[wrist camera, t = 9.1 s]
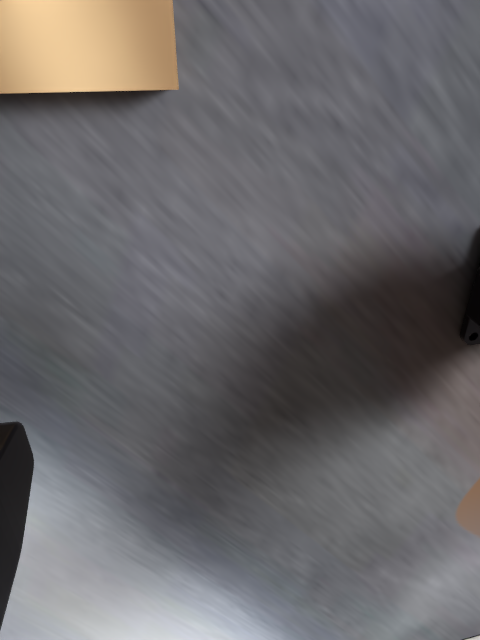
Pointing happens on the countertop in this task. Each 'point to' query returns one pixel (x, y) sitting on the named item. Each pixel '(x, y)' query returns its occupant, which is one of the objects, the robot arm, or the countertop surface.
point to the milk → (474, 638)
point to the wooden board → (87, 46)
